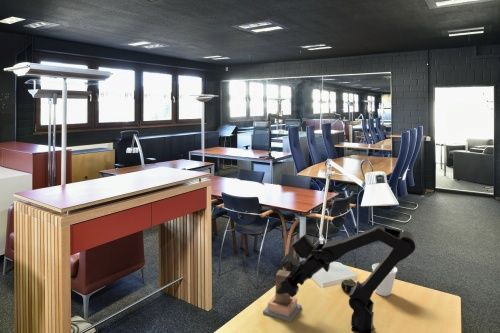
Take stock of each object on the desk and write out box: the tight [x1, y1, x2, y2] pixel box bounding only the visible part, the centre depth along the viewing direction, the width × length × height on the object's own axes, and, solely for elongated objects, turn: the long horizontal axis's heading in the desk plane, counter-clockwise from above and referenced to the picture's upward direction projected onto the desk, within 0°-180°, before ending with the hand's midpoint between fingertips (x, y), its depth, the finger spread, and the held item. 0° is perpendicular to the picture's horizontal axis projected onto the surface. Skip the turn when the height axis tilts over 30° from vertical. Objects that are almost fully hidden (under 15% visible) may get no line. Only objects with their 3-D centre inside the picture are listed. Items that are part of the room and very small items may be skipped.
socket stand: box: [262, 295, 302, 323], centre depth 141 cm, size 11×11×4 cm
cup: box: [371, 262, 398, 297], centre depth 155 cm, size 10×10×11 cm
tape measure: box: [340, 278, 357, 294], centre depth 157 cm, size 7×7×4 cm
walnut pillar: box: [274, 269, 291, 306], centre depth 140 cm, size 4×4×14 cm
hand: (279, 290), depth 140 cm, fingers closed on walnut pillar, 4 cm apart
